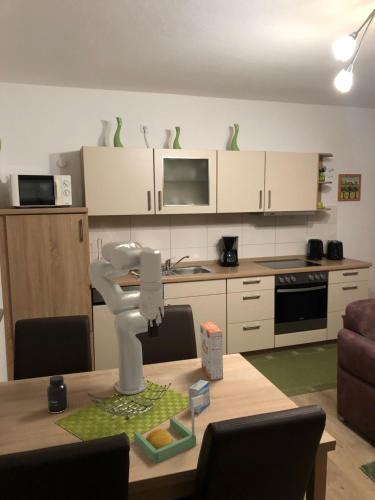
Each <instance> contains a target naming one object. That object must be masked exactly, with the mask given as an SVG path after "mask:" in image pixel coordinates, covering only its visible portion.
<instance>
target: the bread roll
mask: <svg viewBox="0 0 375 500" xmlns="http://www.w3.org/2000/svg"><path fill="white" fill-rule="evenodd" d="M145 437H146V438H145V439H146V440H147V441H148V442H149V443H150V444H151V445H152V446H153V447H154V448H155V449H156V450H157V449H160V448H162V447H164V446H167V445H169V444H171V443H174V442H175V441H174V440H175V439H174V438H173V436H172V435H171V433H170V432H169V431H167V430H166V429H163V428H156V429H154V430H152V431H150V432H149V433H148V434H147V436H145Z"/></svg>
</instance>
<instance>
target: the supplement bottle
mask: <svg viewBox="0 0 375 500" xmlns="http://www.w3.org/2000/svg"><path fill="white" fill-rule="evenodd" d="M48 382H49V385H48V386H47V388H46V397H47V411H48V410H49V411H50V412H60V411H63V410H65V409H66V408H68V405H69V404H68V388H67V384H66V383H65V382H64V375H61V374H58V375H57V374H56V375H53V376H51V377H50V378H49V381H48ZM66 410H67V409H66ZM66 410H65V411H66ZM49 411H48V412H49ZM50 412H49V413H50ZM63 412H64V411H63Z"/></svg>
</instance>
